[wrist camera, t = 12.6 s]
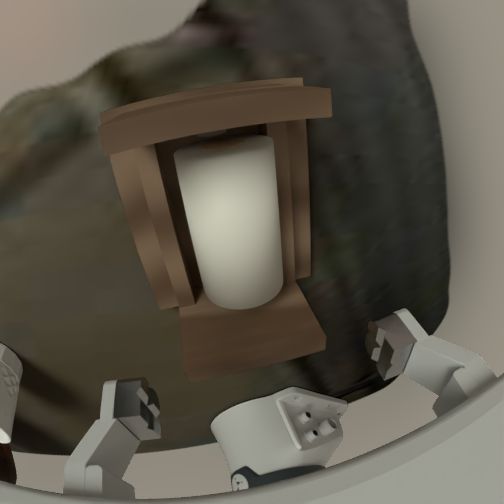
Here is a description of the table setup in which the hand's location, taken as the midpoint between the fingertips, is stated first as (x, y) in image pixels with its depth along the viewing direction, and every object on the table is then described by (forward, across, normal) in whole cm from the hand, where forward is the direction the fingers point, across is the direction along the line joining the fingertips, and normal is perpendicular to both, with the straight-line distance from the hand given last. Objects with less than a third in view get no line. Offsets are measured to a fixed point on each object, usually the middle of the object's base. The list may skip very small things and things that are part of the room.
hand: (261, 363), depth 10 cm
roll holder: (+15, 0, 0) cm, 15 cm away
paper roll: (+13, 0, 0) cm, 13 cm away
